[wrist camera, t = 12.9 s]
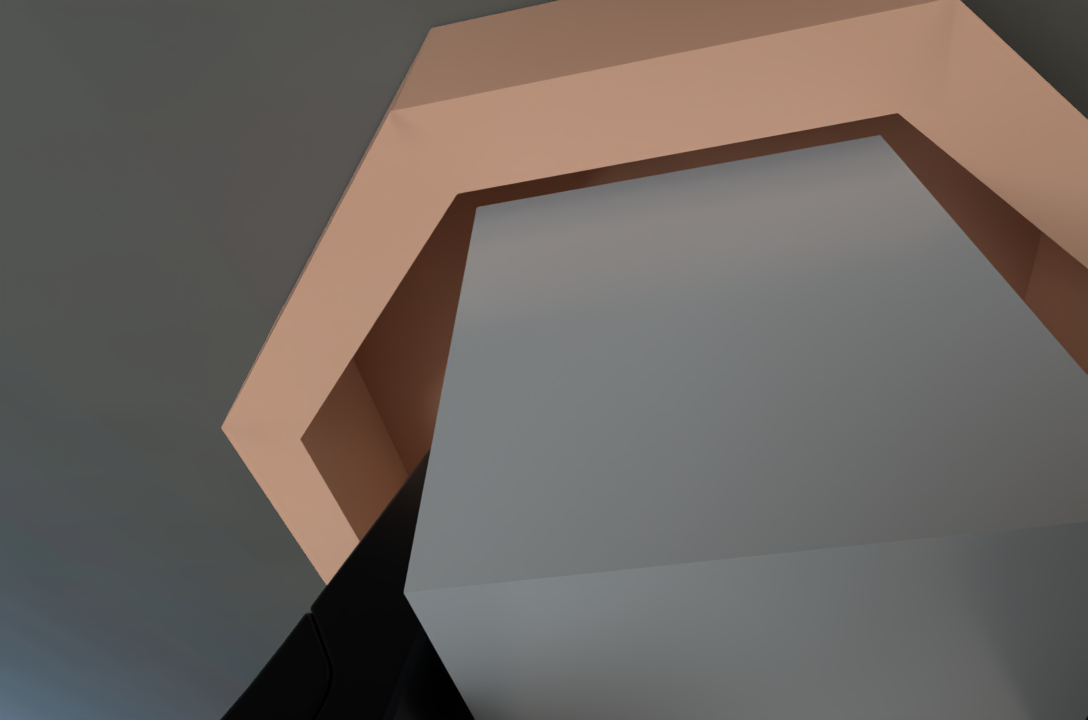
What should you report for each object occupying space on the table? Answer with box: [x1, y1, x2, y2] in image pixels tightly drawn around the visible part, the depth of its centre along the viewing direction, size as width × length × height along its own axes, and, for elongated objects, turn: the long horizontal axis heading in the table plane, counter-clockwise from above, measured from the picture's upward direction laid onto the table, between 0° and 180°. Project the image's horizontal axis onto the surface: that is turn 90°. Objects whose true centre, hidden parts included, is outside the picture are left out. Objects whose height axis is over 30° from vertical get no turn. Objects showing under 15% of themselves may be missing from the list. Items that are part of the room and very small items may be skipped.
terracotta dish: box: [221, 0, 1088, 585], centre depth 12 cm, size 13×13×3 cm
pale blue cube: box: [404, 135, 1088, 720], centre depth 7 cm, size 4×4×5 cm
